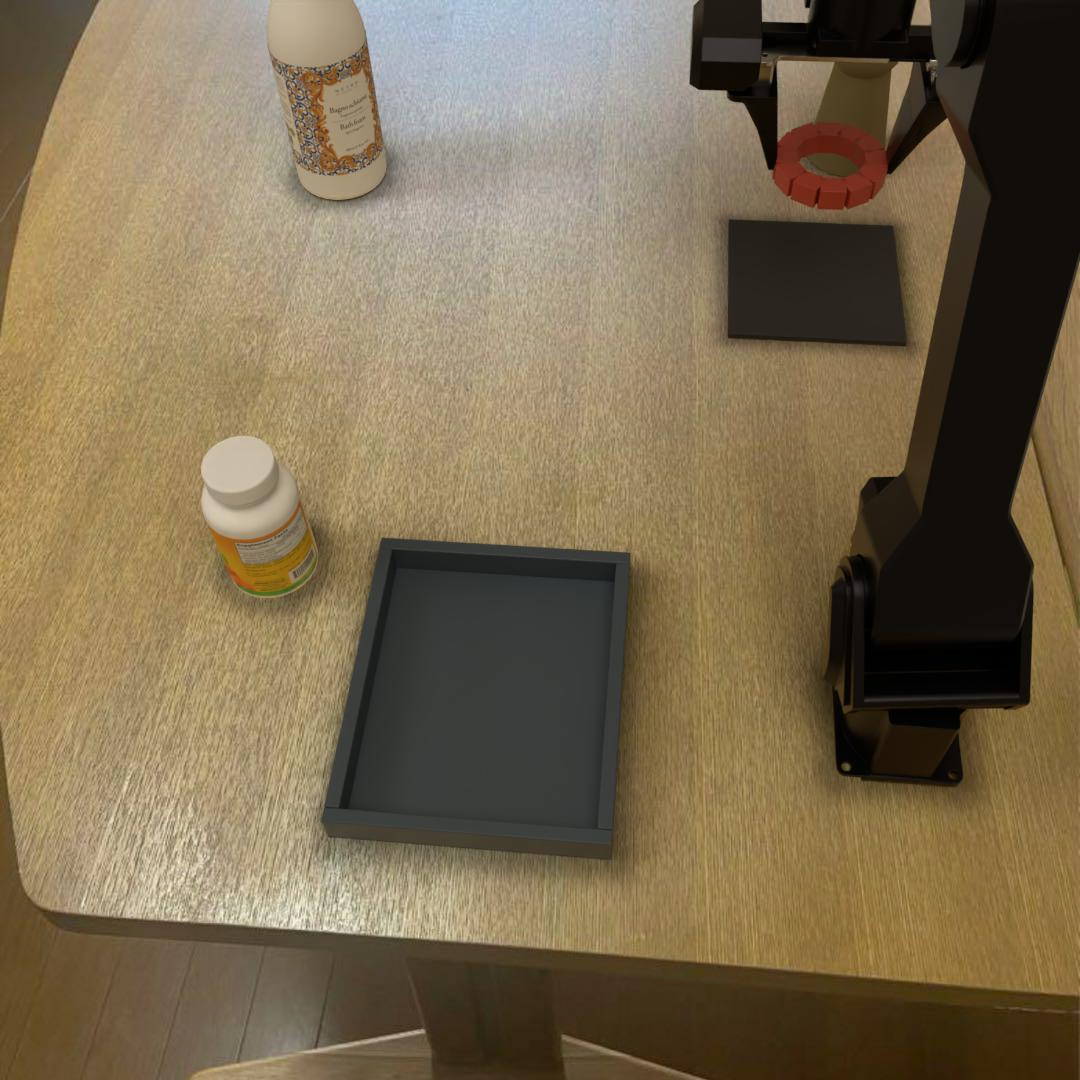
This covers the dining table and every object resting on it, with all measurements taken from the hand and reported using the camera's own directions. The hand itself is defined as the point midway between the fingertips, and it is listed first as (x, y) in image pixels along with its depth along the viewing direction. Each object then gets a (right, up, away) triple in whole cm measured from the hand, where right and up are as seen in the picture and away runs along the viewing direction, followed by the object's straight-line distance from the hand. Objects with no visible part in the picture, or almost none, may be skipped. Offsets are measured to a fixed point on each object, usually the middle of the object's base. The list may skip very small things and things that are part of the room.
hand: (829, 167), depth 76 cm
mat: (+1, -5, +9) cm, 11 cm away
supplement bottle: (-34, -25, -4) cm, 43 cm away
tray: (-21, -32, -10) cm, 40 cm away
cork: (+5, +7, +18) cm, 20 cm away
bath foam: (-34, +5, +18) cm, 39 cm away
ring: (0, 0, 0) cm, 0 cm away
